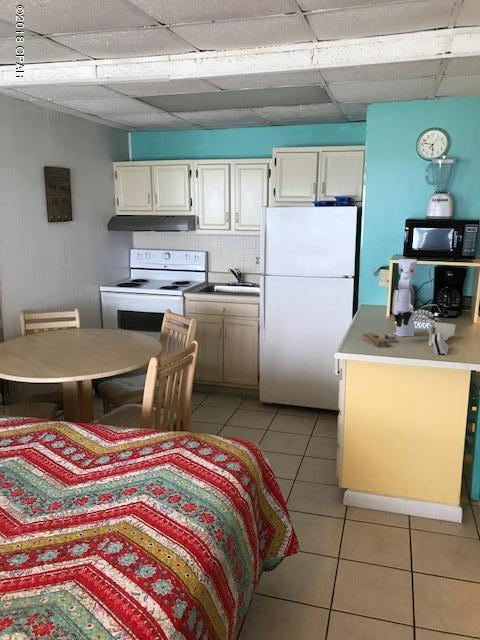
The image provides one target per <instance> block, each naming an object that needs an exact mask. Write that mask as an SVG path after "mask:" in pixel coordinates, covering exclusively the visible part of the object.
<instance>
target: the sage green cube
mask: <svg viewBox="0 0 480 640" xmlns="http://www.w3.org/2000/svg"><path fill="white" fill-rule="evenodd" d="M384 338H385V339H387V340H389V341H390V344H393V343H396V335H395V334H393V333H386V334H384Z"/></svg>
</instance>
